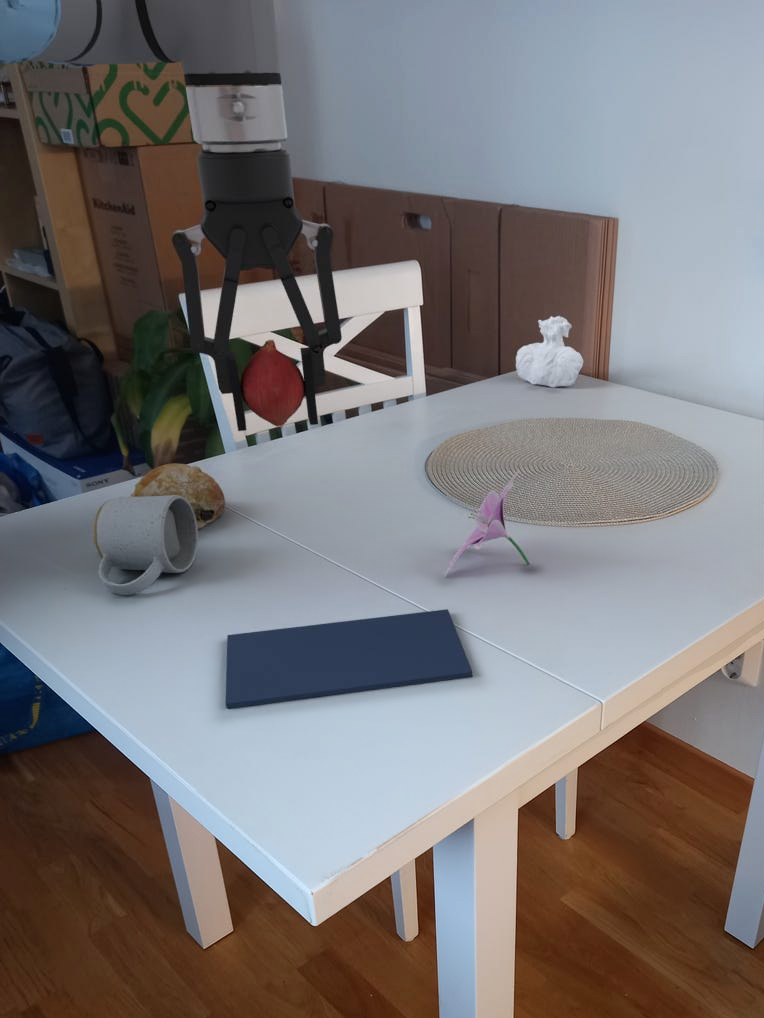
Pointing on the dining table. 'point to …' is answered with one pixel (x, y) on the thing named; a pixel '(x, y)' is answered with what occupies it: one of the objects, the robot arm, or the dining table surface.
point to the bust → (550, 357)
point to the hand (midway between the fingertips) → (277, 422)
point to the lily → (489, 523)
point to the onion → (272, 385)
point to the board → (342, 658)
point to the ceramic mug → (144, 538)
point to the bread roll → (185, 489)
